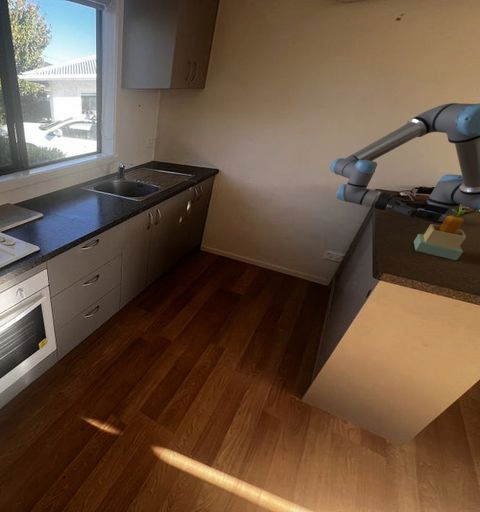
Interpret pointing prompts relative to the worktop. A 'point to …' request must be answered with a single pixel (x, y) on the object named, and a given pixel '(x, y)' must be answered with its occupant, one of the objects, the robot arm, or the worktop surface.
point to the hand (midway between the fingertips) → (443, 214)
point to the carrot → (452, 222)
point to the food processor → (440, 242)
